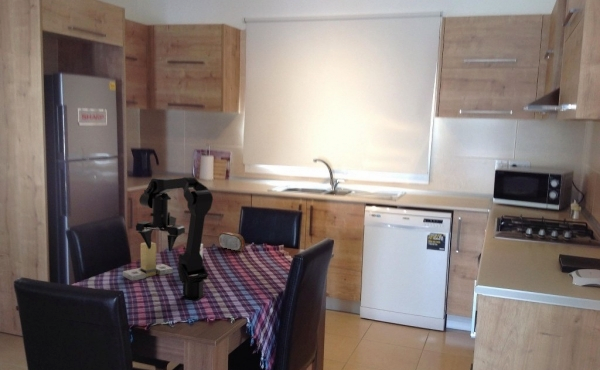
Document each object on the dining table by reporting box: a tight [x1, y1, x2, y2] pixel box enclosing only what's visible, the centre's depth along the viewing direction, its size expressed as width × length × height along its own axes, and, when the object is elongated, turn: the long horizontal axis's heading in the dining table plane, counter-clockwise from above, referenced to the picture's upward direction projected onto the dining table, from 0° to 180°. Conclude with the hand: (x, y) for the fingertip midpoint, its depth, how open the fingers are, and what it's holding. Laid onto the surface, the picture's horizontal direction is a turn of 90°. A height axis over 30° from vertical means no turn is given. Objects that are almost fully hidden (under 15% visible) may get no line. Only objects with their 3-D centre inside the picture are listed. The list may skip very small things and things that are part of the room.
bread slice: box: [218, 231, 246, 252], centre depth 261 cm, size 15×3×8 cm, turn 58°
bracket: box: [122, 263, 174, 282], centre depth 216 cm, size 8×18×2 cm, turn 134°
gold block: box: [139, 241, 157, 278], centre depth 215 cm, size 5×5×13 cm
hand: (159, 249), depth 205 cm, fingers open, 9 cm apart
